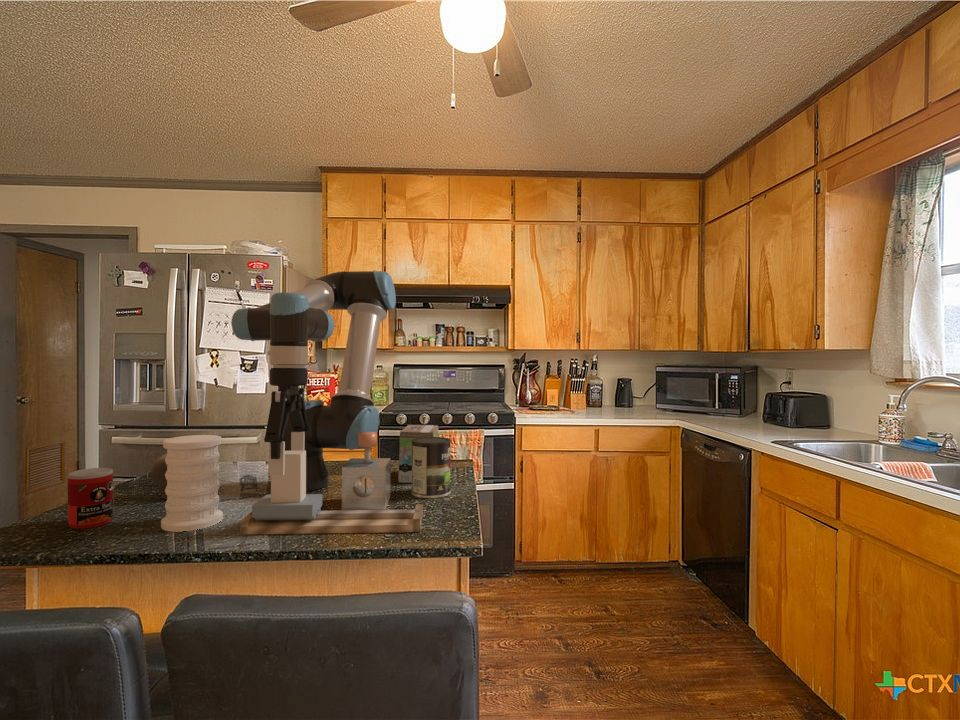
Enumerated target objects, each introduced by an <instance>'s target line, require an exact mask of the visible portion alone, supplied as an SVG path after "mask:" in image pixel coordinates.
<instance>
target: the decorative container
mask: <svg viewBox="0 0 960 720" xmlns="http://www.w3.org/2000/svg"><path fill="white" fill-rule="evenodd" d="M221 444H222V436H221V435H215V434H214V435H213V434H193V435H183V436H181V435H179V436H174V437H170V438H166V439H163V440H162V447H163V448H164V449H165V450H166V454H167V456H166V458H165V462H166V464H167V471H166V474H165V477H166V480H167V486H166V489H165V493H166V495H167V499H166V501H165V504H164V509H165V510H166V516H164V517H163V518H161V521H160V528H161V529H162V530H163V531H166V532H171V533H184V532H183V531H187V532H193V530H195V531H199V529H200V530H204V529H203V528H205V529H207V527H208V528H211V527H213V525H214V526H215V524H216V525H218V524H220V523H221V522H222V521H223V520H224V512H223V510H220V509H219V503H220V495H219V489H220V486H221V484H220V481H219V475H220V471H221V470H220V467H219V459H220V457H221V456H220V453H219V446H220V445H221ZM222 519H223V520H222ZM220 521H221V522H220ZM219 522H220V523H219ZM217 523H218V524H217ZM210 526H211V527H210ZM197 529H198V530H197Z"/></svg>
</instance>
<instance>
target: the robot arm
mask: <svg viewBox="0 0 960 720" xmlns="http://www.w3.org/2000/svg"><path fill="white" fill-rule="evenodd" d="M396 296H397V295H396V289H395V284H394V281H393V278H392V276H391V275H390V274H389V273H388V272H387V271H383V270H373V271H367V270H366V271H364V270H363V271H355V270H353V271H352V270H350V271H337V272H332V273H328V274H326V275H322V276H320V277H317V278H315V279H313V280H310V281H308V282H307V283H306V284H305V285H304V287H303V288H301V289H299V290H296V291H294V292H276V293H274V294H272V295H271V297H270V302H268V303H266V304H263V305H261V306H258V307H253V308H251V307H247V308H237V309H236V310H235V311H234V313H233V314H232V317H231V321H230V323H231V328H232V332H233V334H234V336H235V337H236V338H238V339H239V340H241V341H251V342H254V341H255V342H256V341H269V345H270V346H269V350H268V351H267V355H268V356H269V365H271V366H272V367H270V369H269V384H270V386H273V387H277V391H273V390H272V392H271V398H270V401H271V403H270V407H269V414H268V417H267V425H266V429H265V436H264V439H263V441H264V443H269V457H268V458H269V461H268V464H269V467H268V468H269V469H268V470H269V471H268V472H269V474H268V475H269V476H271V475H284V474H285V451H306V492H310V491H315V490H319V489H323V488H325V487H327V486H328V485H329V484H330V474H329V471H328V468H327V465H326V461H325V459H324V455H323V454H324V453H323V451H324V449H332V450H333V449H336V450H340V449H341V450H350V451H354V450H364V447H359V446H358V433H360V432H376V433H378V430H379V427H380V425H379V424H380V420H379V418H380V412H379V409H378V408H377V407H376V406H374V405H375V402H374V400H373V399H372V398H371V389H372V381H373V374H374V368H375V361H376V354H377V347H378V342H379V334H380V329H381V328H380V327H381V322H382V321H384V320H386V319H387V316H388V311H392V310H394V309H395V307H396V305H397V302H396V301H397V298H396ZM330 310H331V311H333V310H334V311H335V310H340V311H341V310H343V311H347V313H348V314H349V316H350V317H351V318H350V322H349V326H348V327H349V328H348V329H349V330H348V335H347V340H346V344H345V351H344V355H343V356H344V357H343V363H342V369H341V374H340V380H339V385H338V391H337V392H336V393H335V394H333V395H332V396H331V398H330V403H329V405H326V404H325V403H324V401H323V400H322V399H313V400H305V389H304V388H303V386H307V384H308V383H309V382H308V380H309V379H308V378H309V377H308V375H309V373H308V371H309V370H308V368H307V367H306V366H308V365H309V347H308V346H309V345H308V344H309V343H308V342H309V341H311V342H318V343H319V342H323V341H326V340H328V339H329V338H331V336H332V335H333V333H334V331H335V326H336V325H335V320H334V318H333V316H332V315H331V314H330V313H329V312H328V311H330Z"/></svg>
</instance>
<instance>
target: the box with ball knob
mask: <svg viewBox="0 0 960 720" xmlns="http://www.w3.org/2000/svg"><path fill="white" fill-rule="evenodd" d="M391 460H392V459H391V458H390V457H387V458H385V457H384V458H383V457H379V458H375V457H373V458H371V457H370V464H364V458H361V457H359V458H358V457H357V458H355V457H354V458H349V460H348V461H346V463H345V464H344V465H342V467H341V511H343V510H387V509H386V508H387V506H388V504H389V502H390V499H391V464H392V463H391Z"/></svg>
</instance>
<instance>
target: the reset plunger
mask: <svg viewBox="0 0 960 720" xmlns="http://www.w3.org/2000/svg"><path fill="white" fill-rule="evenodd" d="M377 433H378V432H377ZM377 433H376V432H360V433H358V446H359V447H364V449H363V450H364V453H363V455H364V464H370V458H371V448H372V447H377V445H378V441H377V440H378V439H377V438H378V437H377V435H378V434H377Z"/></svg>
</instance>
